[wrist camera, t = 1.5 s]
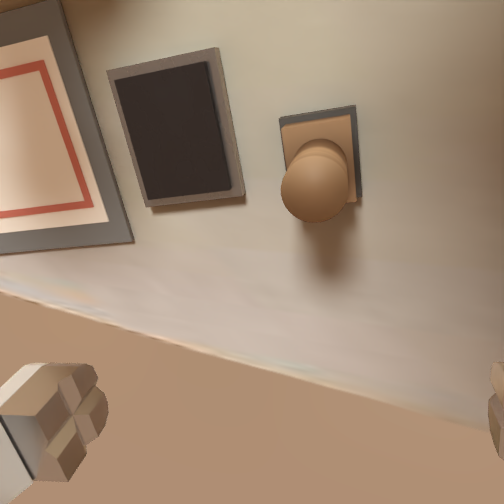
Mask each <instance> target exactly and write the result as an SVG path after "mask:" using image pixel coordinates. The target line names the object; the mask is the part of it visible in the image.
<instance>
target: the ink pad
mask: <svg viewBox="0 0 504 504" xmlns="http://www.w3.org/2000/svg"><path fill="white" fill-rule="evenodd" d="M106 72H107V75H108V79H109V82H110V86H111V89H112V92H113V96H114V99H115V103H116V106H117V110H118V113H119V117H120V120H121V123H122V127H123V130H124V134H125V137H126V141H127V144H128V148H129V151H130V155H131V158H132V161H133V165H134V168H135V172H136V175H137V179H138V182H139V186H140V189H141V193H142V196H143V199H144V203H145V206H146V207H152V206H161V205H170V204H178V203H187V202H196V201H204V200H213V199H222V198H230V197H239V196H243V195H244V194H245V187H244V181H243V176H242V171H241V165H240V160H239V155H238V149H237V144H236V138H235V133H234V128H233V122H232V117H231V111H230V106H229V101H228V95H227V90H226V85H225V79H224V74H223V68H222V63H221V58H220V52H219V48H216V47H214V48H209V49H205V50H200V51H195V52H191V53H186V54H182V55H177V56H172V57H168V58H163V59H159V60H154V61H149V62H145V63H140V64H136V65H131V66H126V67H122V68H117V69H113V70H108V71H106Z"/></svg>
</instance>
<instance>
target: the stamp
mask: <svg viewBox="0 0 504 504" xmlns="http://www.w3.org/2000/svg"><path fill="white" fill-rule="evenodd" d="M279 124H280V131H281V138H282V145H283V152H284V159H285V166H286V174H285V176H284V178H283V181H282V185H281V196H282V200H283V203H284V205H285V207H286V208H287V209H288V211H289V212H290V213H291V214H292V215H294V216H295V217H297V218H298V219H300V220H303V221H306V222H322V221H326V220H328V219H331V218H332V217H334V216H335V215H337V214H338V213H339V212H340V211H341V209H342V208H343V206H344V205H345V203H349V202H357V198H356V197H362V188H361V173H360V159H359V145H358V131H357V116H356V105H351V106H345V107H339V108H333V109H327V110H321V111H314V112H308V113H302V114H296V115H290V116H284V117H281V118H279Z"/></svg>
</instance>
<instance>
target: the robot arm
mask: <svg viewBox="0 0 504 504" xmlns="http://www.w3.org/2000/svg"><path fill="white" fill-rule="evenodd" d="M97 380H98V376H97V374H96V372H95V370H94V368H93V366H91V365H88V364H80V363H77V364H76V363H31V364H28V365H25V366H23V367H22V368H21V369H20V370H19V371H18V372H17V373H16V374H15V375H13V376H12V377H11V378H10V379H9V380H8V381H7V382H6V383H5V384H4V385H3V386H2V387H0V504H8V503H9V502H11V501H12V500H13V499H14V498H16V497H17V496H18V495H19V494H20V493H22V492H23V491H24V490H25V489H26V488H28V487H29V486H30V485H31V484H32V483H33V480H34V481H56V482H68V481H69V480H70V478H71V477H72V475H73V474H74V472H75V471H76V469H77V468H78V466H79V465H80V463H81V462H82V460H83V459H84V457H85V456H86V454H87V451H86V445H87V444H89V443H90V442H91V441H93V440H94V439H95V438H97V437H98V436H99V435H100V433H101V431H102V430H103V428H104V427H105V424H106V420H107V416H108V402H107V399H106V396H105V394H104V393H103V392H102V391H101V390H100V389H99V388H98V387H96V386H95V385H96V382H97ZM490 381H491V383H492V385H493V388H494V390H495V392H496V393H495V394H494V395H493V396H492V397H491V398H490V399H489V405H488V417H489V425H490V431H491V435H492V439H493V442H494V445H495V448H496V450H497V453H498V455H499V457H500V458H502V459H503V460H504V362H493V365H492V367H491V375H490Z"/></svg>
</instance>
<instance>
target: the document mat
mask: <svg viewBox="0 0 504 504" xmlns="http://www.w3.org/2000/svg"><path fill="white" fill-rule="evenodd" d="M133 240H134V237H133V234H132V231H131V228H130V224H129V221H128V218H127V215H126V211H125V208H124V205H123V202H122V199H121V195H120V192H119V189H118V186H117V183H116V179H115V176H114V173H113V170H112V167H111V163H110V160H109V157H108V154H107V150H106V147H105V144H104V141H103V138H102V134H101V131H100V128H99V125H98V122H97V118H96V115H95V112H94V109H93V106H92V102H91V99H90V96H89V93H88V90H87V86H86V83H85V80H84V77H83V73H82V70H81V67H80V64H79V61H78V57H77V54H76V51H75V48H74V45H73V41H72V38H71V35H70V32H69V29H68V25H67V22H66V19H65V16H64V12H63V9H62V6H61V3H60V0H46V1H43V2H39V3H36V4H32V5H28V6H25V7H21V8H18V9H14V10H11V11H7V12H3V13H0V254H3V253H13V252H24V251H35V250H46V249H57V248H68V247H79V246H89V245H100V244H111V243H122V242H132V241H133Z"/></svg>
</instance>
